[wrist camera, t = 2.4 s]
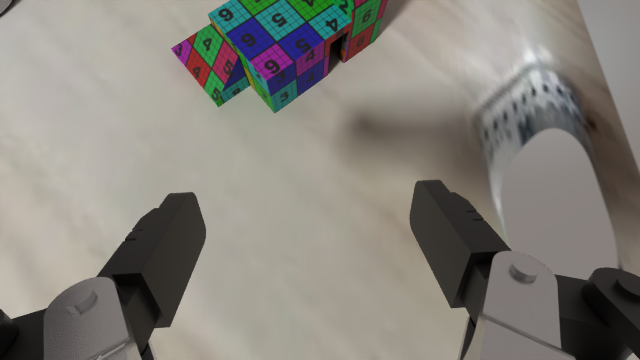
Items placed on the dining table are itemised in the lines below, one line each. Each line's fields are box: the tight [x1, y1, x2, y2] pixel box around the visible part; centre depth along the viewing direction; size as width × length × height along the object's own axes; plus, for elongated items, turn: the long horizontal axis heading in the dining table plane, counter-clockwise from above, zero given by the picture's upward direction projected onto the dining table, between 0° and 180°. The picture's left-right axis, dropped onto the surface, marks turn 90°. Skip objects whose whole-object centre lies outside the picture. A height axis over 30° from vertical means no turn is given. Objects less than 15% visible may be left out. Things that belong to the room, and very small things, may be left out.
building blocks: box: [171, 0, 388, 113], centre depth 21 cm, size 15×10×8 cm
